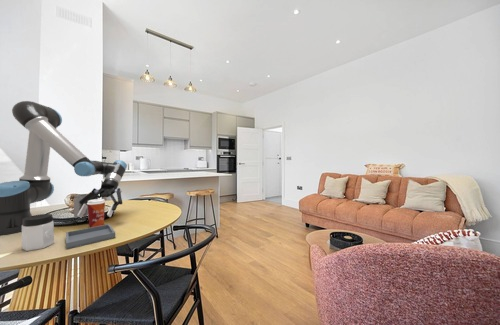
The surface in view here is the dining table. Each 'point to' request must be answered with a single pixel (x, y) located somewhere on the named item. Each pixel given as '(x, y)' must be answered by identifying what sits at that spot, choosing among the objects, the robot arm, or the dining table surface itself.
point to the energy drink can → (79, 205)
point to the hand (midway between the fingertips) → (94, 216)
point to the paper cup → (96, 212)
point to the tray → (89, 236)
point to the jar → (37, 232)
